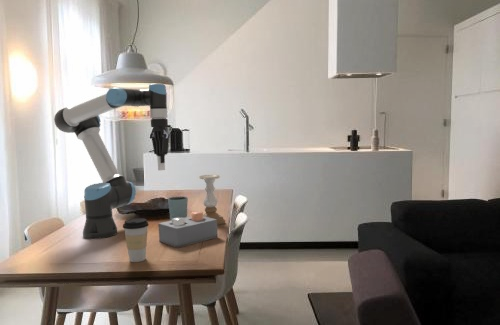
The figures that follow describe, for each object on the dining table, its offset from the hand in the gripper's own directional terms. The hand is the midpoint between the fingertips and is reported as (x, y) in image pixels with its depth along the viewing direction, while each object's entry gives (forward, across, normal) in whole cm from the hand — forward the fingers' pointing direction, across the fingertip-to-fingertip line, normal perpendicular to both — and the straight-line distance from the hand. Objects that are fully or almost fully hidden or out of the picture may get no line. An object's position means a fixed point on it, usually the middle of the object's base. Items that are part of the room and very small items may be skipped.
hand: (161, 170), depth 196 cm
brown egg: (+26, -18, -6) cm, 32 cm away
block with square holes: (+29, -18, -1) cm, 34 cm away
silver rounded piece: (+26, -18, +4) cm, 32 cm away
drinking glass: (+30, +15, -18) cm, 38 cm away
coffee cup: (+30, -26, +28) cm, 48 cm away
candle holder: (+30, -2, -26) cm, 39 cm away
